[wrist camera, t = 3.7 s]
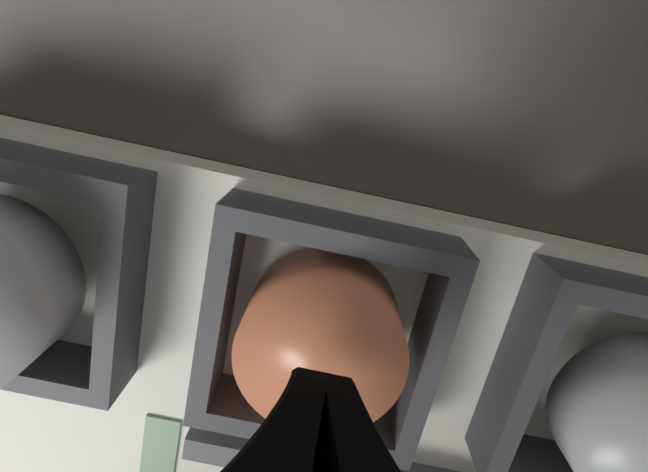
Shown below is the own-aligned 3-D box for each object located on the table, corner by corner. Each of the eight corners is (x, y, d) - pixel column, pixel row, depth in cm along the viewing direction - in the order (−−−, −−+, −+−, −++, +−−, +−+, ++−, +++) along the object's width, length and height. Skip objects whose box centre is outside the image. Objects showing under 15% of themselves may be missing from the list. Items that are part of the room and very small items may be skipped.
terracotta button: (377, 394, 15) (384, 451, 13) (238, 366, 15) (219, 418, 13) (415, 265, 14) (431, 302, 12) (262, 233, 14) (246, 263, 11)
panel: (628, 579, 20) (688, 679, 16) (-150, 428, 19) (-256, 502, 15) (793, 286, 16) (917, 341, 12) (-189, 73, 15) (-347, 69, 11)
